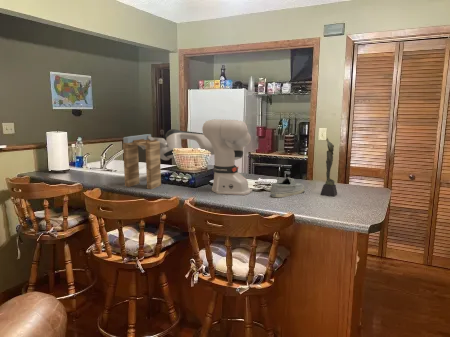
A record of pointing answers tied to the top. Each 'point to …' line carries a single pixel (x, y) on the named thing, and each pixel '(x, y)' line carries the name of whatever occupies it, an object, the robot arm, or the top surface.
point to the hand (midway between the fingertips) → (144, 136)
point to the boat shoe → (286, 188)
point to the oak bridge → (133, 163)
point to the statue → (329, 186)
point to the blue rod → (135, 138)
